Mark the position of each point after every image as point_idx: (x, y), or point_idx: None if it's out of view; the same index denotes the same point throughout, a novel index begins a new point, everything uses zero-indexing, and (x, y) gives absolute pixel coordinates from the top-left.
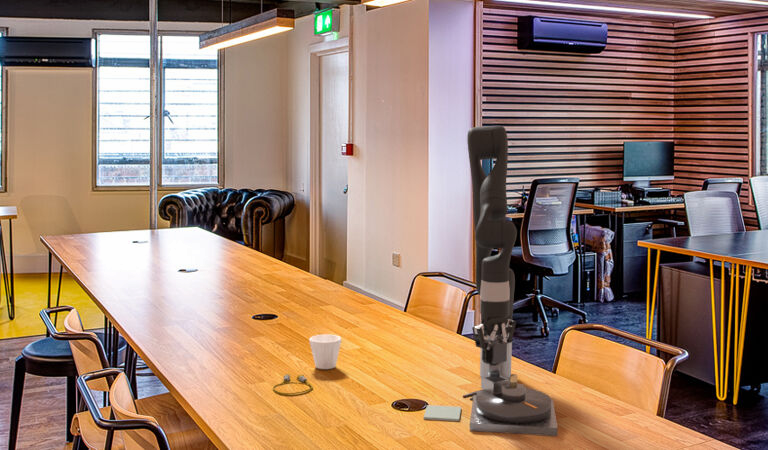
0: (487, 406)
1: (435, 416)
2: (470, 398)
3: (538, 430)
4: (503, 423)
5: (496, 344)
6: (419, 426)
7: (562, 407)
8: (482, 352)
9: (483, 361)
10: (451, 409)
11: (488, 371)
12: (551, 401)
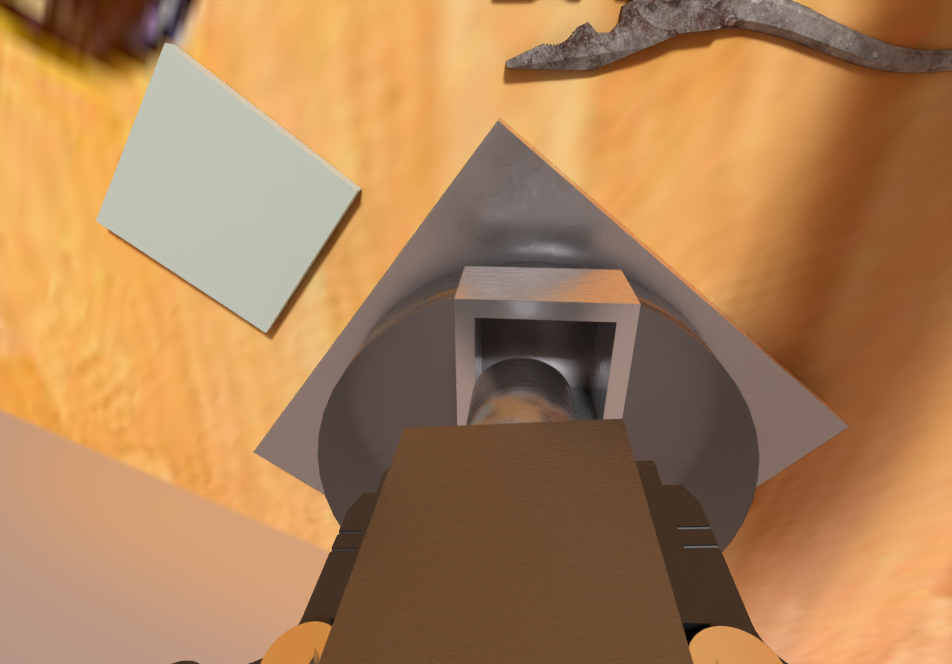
0: (329, 499)
1: (160, 248)
2: (508, 66)
3: None
4: None
5: None
6: (67, 287)
7: (851, 431)
8: (316, 589)
9: (387, 471)
10: (284, 198)
11: (472, 401)
12: (806, 446)
